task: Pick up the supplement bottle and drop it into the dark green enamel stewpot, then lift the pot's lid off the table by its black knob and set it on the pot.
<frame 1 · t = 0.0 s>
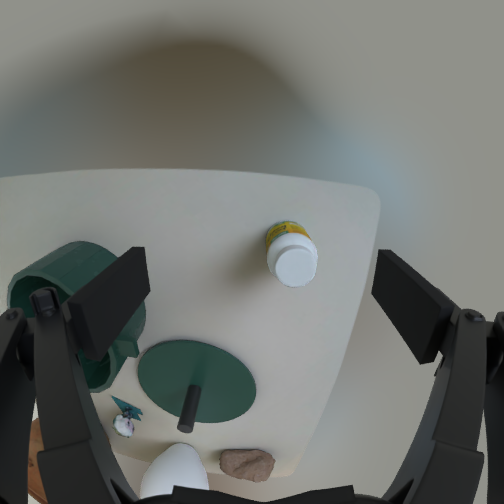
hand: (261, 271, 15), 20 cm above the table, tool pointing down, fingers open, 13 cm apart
stewpot: (92, 299, 39), on the table
figurine: (136, 411, 49), on the table
stone: (248, 455, 53), on the table
pot: (84, 421, 53), on the table
stewpot lid: (195, 386, 44), point 1 cm above the table
vase: (184, 446, 52), on the table
supplement bottle: (286, 239, 35), on the table
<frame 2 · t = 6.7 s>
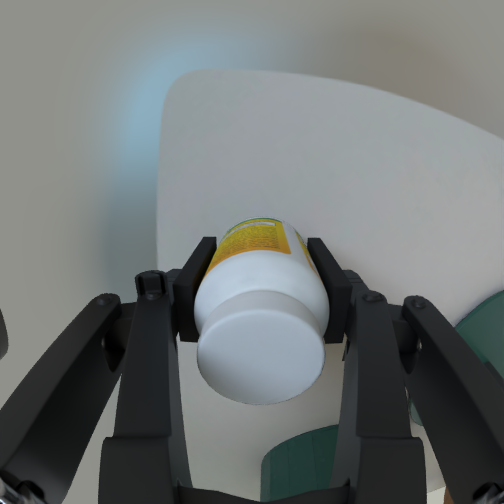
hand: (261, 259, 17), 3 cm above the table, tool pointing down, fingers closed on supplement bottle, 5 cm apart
stewpot: (333, 460, 29), on the table
stewpot lid: (480, 366, 22), point 1 cm above the table
supplement bottle: (261, 256, 17), point 2 cm above the table, touching gripper
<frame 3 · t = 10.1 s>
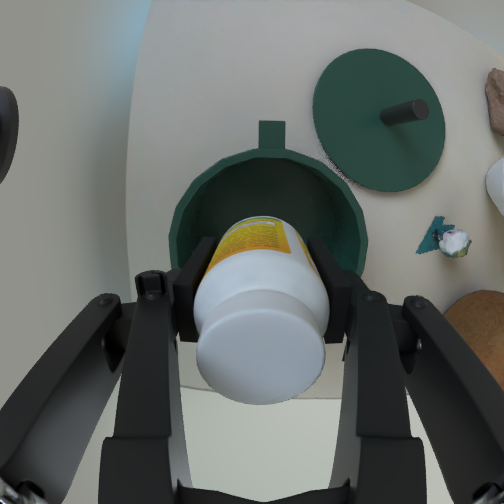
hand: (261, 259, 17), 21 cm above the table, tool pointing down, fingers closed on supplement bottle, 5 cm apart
stewpot: (266, 225, 38), on the table
figurine: (440, 226, 37), on the table
stone: (497, 104, 29), on the table
pot: (457, 322, 43), on the table
stewpot lid: (385, 117, 31), point 1 cm above the table
vase: (491, 181, 34), on the table
supplement bottle: (261, 255, 17), point 21 cm above the table, touching gripper
when the fingers open (9 cm above the table, at t = 13.6 s): supplement bottle drops 8 cm, resting on stewpot.
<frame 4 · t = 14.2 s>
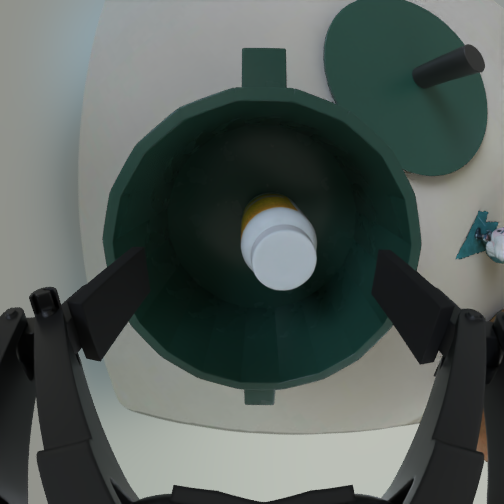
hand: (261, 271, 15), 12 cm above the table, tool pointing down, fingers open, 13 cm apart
stewpot: (262, 221, 27), on the table
figurine: (483, 223, 26), on the table
pot: (491, 339, 31), on the table
stewpot lid: (418, 78, 20), point 1 cm above the table
supplement bottle: (270, 219, 26), point 1 cm above the table, touching stewpot
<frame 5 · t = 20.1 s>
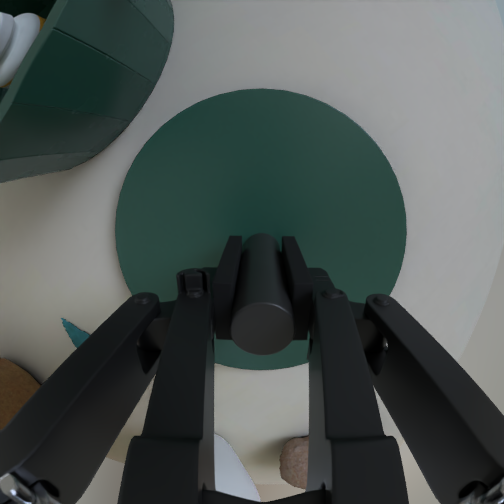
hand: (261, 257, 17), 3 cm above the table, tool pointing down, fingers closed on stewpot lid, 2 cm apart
stewpot: (65, 60, 15), on the table
figurine: (108, 358, 24), on the table
stone: (328, 444, 28), on the table
pot: (31, 389, 28), on the table
stewpot lid: (261, 247, 19), point 1 cm above the table, touching gripper
vase: (206, 437, 28), on the table
supplement bottle: (65, 65, 15), resting on stewpot
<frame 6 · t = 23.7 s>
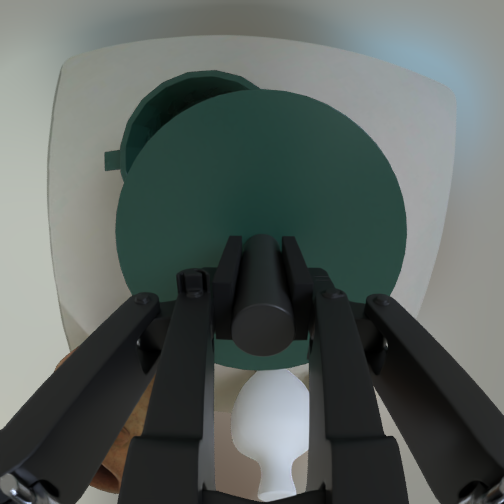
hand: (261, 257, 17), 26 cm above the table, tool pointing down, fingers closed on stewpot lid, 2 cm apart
stewpot: (215, 155, 40), on the table
pot: (138, 357, 53), on the table
stewpot lid: (261, 248, 19), point 24 cm above the table, touching gripper
vase: (272, 370, 53), on the table
when the fingers open (13 cm above the table, at t = 27.7 s): stewpot lid stays where it is, resting on stewpot.
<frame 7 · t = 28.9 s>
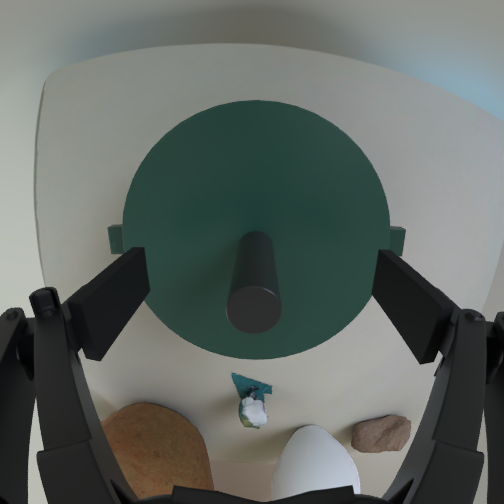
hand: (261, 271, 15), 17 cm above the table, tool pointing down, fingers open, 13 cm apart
stewpot: (257, 213, 32), on the table
figurine: (261, 391, 41), on the table
stone: (376, 425, 45), on the table
pot: (161, 420, 45), on the table
stewpot lid: (255, 244, 21), point 11 cm above the table, touching stewpot
vase: (307, 429, 44), on the table
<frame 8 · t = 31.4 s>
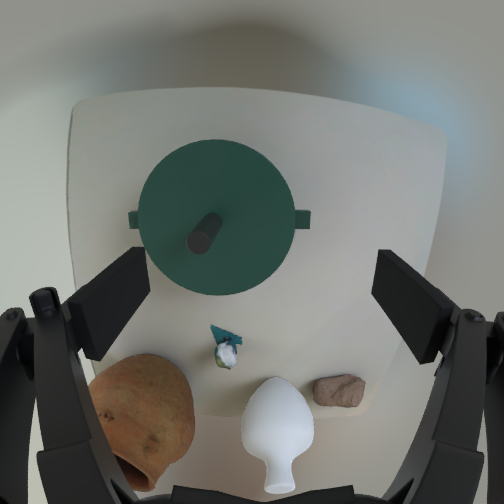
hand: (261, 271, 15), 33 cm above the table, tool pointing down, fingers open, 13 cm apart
stewpot: (224, 205, 47), on the table
figurine: (234, 342, 56), on the table
stone: (336, 385, 60), on the table
pot: (157, 372, 60), on the table
stewpot lid: (213, 220, 36), point 11 cm above the table, touching stewpot
vase: (275, 382, 60), on the table
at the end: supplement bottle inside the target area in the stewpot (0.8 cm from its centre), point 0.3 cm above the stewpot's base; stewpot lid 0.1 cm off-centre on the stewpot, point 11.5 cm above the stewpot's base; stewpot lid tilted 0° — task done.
